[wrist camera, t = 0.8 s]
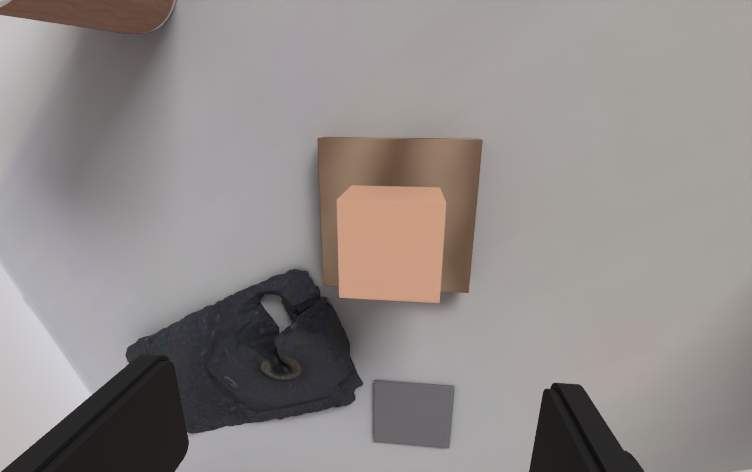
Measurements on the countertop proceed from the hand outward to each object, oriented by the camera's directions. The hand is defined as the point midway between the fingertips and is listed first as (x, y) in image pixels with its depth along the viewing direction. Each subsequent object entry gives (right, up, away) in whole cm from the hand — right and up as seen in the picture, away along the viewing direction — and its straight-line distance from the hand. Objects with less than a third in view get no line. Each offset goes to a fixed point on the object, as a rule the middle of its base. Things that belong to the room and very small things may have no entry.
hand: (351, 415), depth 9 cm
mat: (+4, -13, +27) cm, 30 cm away
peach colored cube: (+2, +5, +16) cm, 17 cm away
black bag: (-12, -8, +27) cm, 31 cm away
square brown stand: (+2, +6, +21) cm, 22 cm away
